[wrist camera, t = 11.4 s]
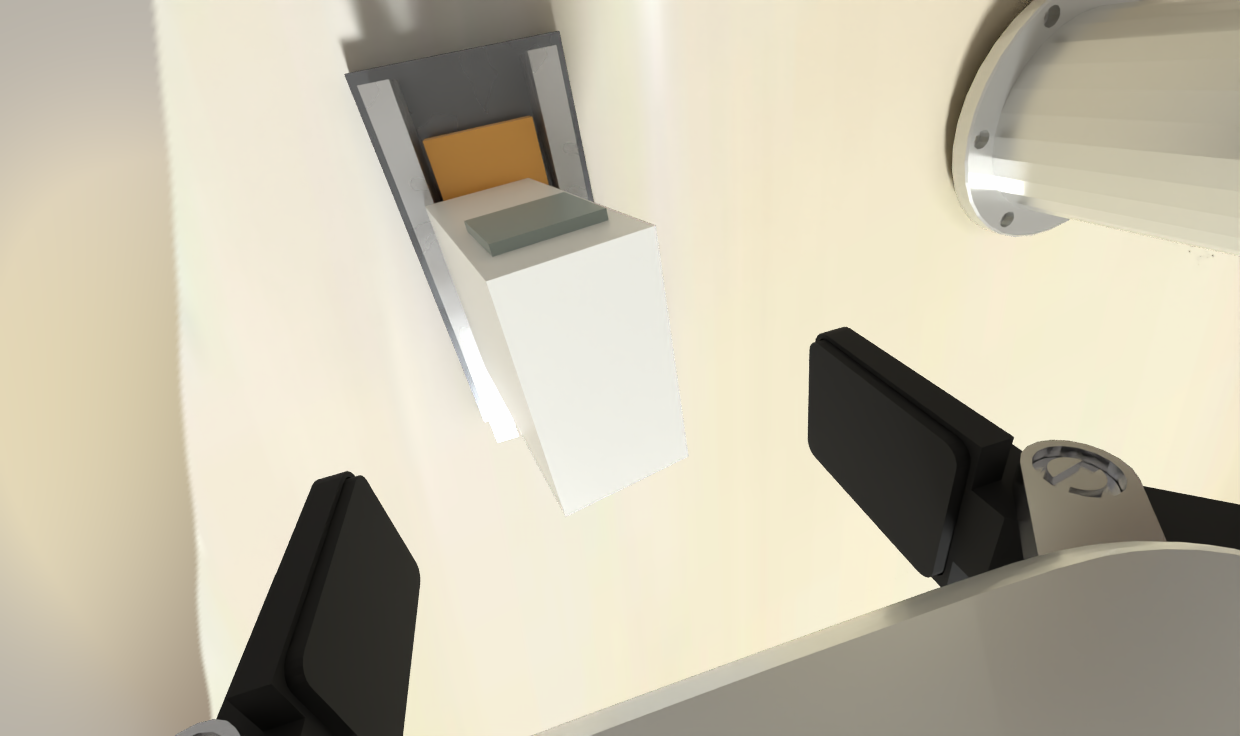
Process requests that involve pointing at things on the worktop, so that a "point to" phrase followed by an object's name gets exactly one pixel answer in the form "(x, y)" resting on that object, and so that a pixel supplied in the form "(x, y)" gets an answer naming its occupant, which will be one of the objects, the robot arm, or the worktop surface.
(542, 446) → the block
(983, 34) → the worktop surface
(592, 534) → the worktop surface
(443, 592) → the worktop surface
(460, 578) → the worktop surface
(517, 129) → the orange rectangular panel
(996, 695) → the robot arm
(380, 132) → the rail
